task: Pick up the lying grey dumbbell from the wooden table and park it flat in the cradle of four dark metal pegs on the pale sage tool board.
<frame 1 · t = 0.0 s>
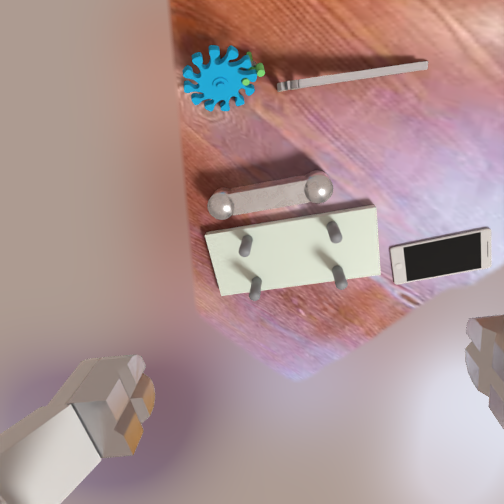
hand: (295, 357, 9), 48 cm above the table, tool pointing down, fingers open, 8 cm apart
caliper: (349, 77, 49), on the table
gear: (228, 81, 50), on the table
grey dumbbell: (269, 191, 56), on the table
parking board: (292, 251, 60), on the table
smartphone: (438, 255, 58), on the table
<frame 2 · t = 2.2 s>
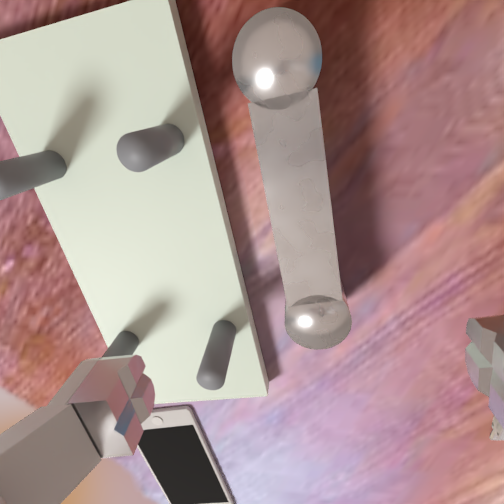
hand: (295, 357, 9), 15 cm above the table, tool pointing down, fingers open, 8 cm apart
grey dumbbell: (299, 193, 23), on the table
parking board: (153, 245, 25), on the table
smartphone: (183, 457, 36), on the table
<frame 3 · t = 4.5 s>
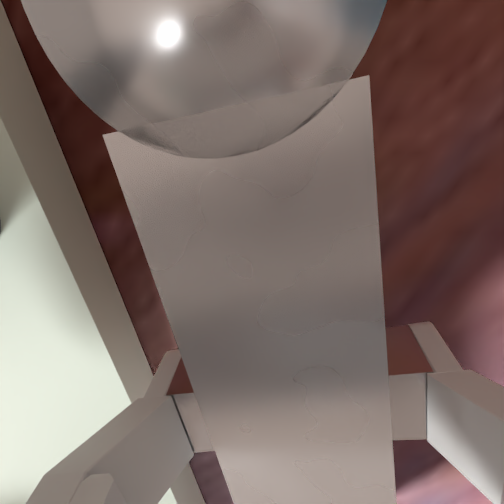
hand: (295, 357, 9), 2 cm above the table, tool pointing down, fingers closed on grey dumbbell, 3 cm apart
grey dumbbell: (294, 319, 10), on the table, touching gripper
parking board: (5, 399, 13), on the table
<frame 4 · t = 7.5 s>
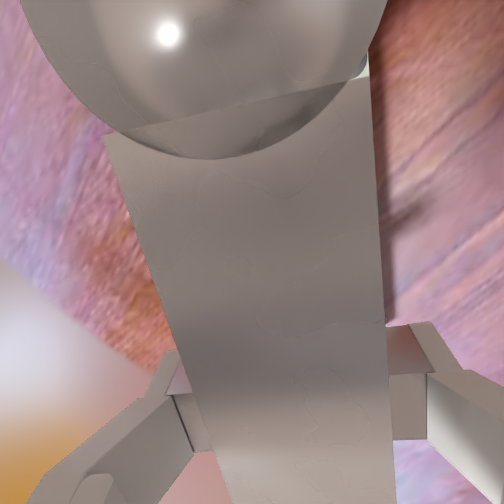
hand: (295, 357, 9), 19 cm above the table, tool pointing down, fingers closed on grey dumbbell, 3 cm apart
grey dumbbell: (294, 320, 10), point 17 cm above the table, touching gripper
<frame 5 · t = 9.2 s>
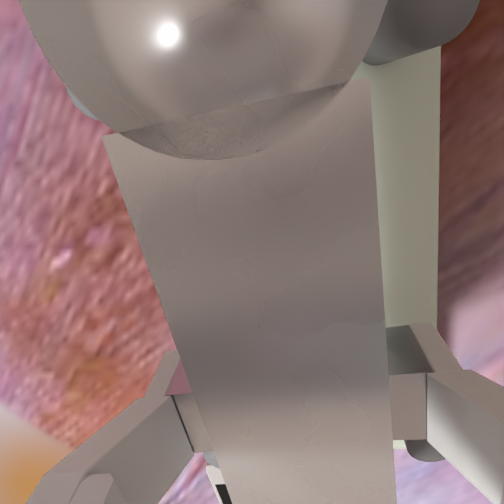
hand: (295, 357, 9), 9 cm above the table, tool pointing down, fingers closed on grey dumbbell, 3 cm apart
grey dumbbell: (294, 320, 10), point 7 cm above the table, touching gripper
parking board: (293, 226, 17), on the table
when the fingers open (5 cm above the table, at t = 10.7 s): grey dumbbell drops 2 cm, resting on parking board.
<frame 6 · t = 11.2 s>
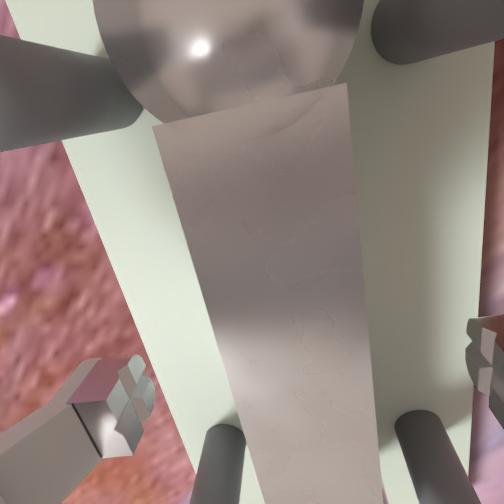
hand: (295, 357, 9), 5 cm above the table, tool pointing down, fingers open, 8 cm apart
grey dumbbell: (293, 289, 12), point 1 cm above the table, touching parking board
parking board: (290, 269, 13), on the table
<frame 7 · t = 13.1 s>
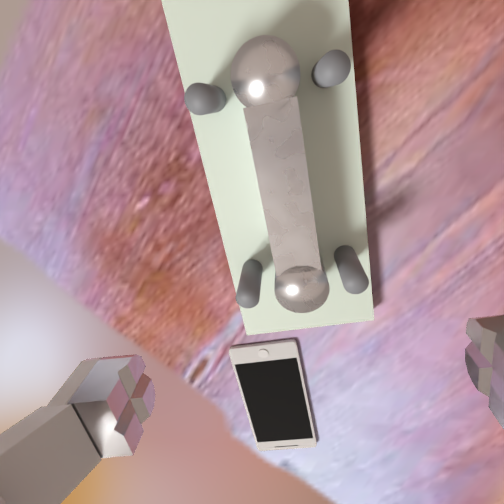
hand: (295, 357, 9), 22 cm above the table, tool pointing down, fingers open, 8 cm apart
grey dumbbell: (285, 182, 27), point 1 cm above the table, touching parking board
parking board: (284, 178, 29), on the table
smartphone: (275, 394, 39), on the table
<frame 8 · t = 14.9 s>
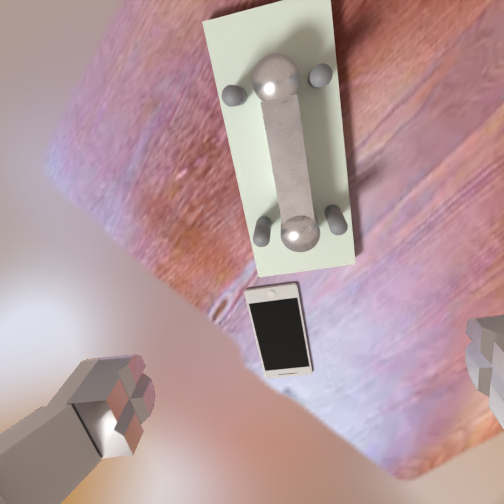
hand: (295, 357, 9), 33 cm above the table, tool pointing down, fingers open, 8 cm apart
grey dumbbell: (288, 157, 37), point 1 cm above the table, touching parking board
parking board: (288, 155, 39), on the table
smartphone: (280, 330, 49), on the table
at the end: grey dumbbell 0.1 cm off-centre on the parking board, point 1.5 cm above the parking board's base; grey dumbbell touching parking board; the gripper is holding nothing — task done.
